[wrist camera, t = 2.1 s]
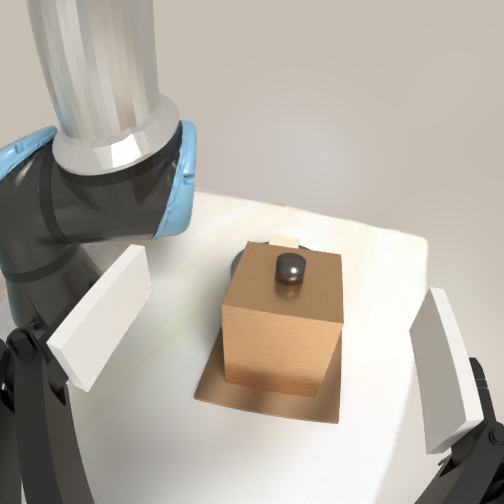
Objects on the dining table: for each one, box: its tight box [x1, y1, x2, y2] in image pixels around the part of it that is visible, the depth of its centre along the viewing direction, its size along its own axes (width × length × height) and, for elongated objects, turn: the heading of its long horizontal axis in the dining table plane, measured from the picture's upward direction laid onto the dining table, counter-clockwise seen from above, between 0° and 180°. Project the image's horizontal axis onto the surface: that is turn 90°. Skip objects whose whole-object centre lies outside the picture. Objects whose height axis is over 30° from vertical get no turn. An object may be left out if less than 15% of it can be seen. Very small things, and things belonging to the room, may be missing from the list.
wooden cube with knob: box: [221, 241, 344, 398], centre depth 28 cm, size 9×9×13 cm
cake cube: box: [269, 235, 299, 248], centre depth 43 cm, size 4×4×4 cm
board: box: [194, 327, 342, 424], centre depth 31 cm, size 14×14×1 cm
